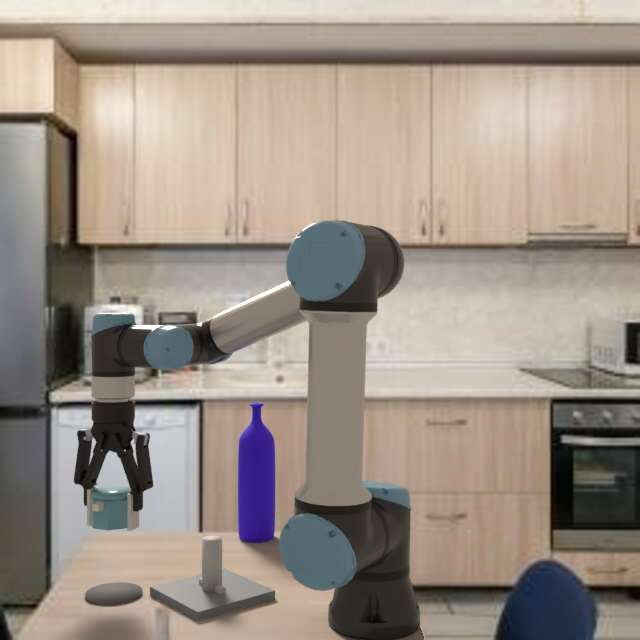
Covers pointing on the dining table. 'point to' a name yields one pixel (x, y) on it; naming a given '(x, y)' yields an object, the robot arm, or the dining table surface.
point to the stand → (211, 587)
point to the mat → (113, 593)
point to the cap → (109, 507)
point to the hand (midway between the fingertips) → (113, 526)
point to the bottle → (256, 481)
